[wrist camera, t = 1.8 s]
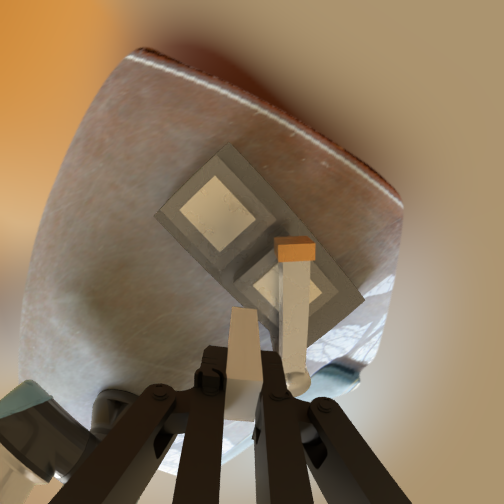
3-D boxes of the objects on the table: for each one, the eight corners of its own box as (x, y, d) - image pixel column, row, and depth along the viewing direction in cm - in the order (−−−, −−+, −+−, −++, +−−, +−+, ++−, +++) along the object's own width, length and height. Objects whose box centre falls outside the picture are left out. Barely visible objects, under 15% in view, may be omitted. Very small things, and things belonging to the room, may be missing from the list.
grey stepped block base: (285, 349, 39) (293, 384, 31) (153, 220, 34) (129, 232, 26) (357, 291, 37) (381, 317, 29) (230, 145, 32) (226, 134, 24)
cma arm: (304, 378, 31) (309, 395, 27) (271, 381, 30) (274, 399, 27) (311, 235, 26) (320, 243, 23) (269, 237, 26) (273, 245, 23)
